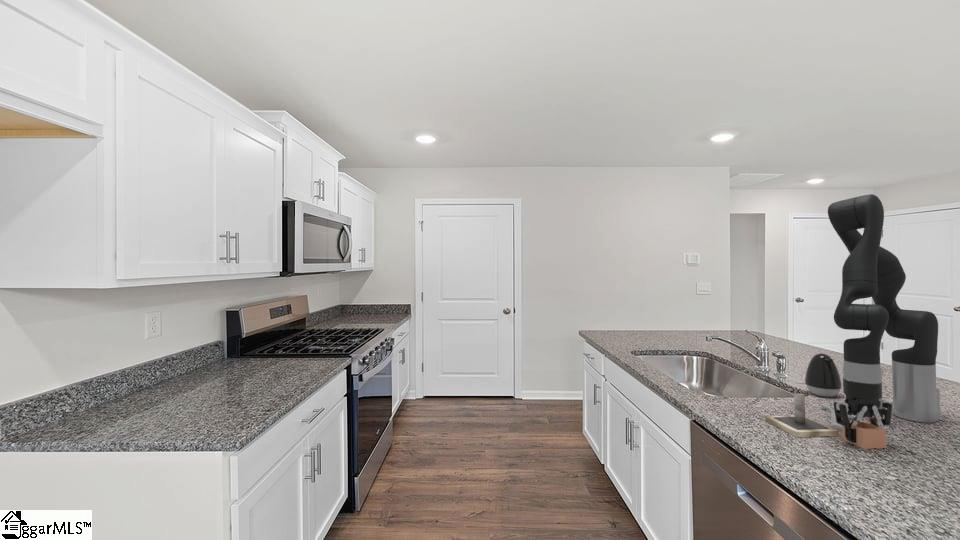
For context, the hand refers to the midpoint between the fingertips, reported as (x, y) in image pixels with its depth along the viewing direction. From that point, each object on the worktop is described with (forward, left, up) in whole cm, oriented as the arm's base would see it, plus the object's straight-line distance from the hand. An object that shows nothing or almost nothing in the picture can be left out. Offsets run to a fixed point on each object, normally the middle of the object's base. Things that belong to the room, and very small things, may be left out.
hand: (863, 440), depth 106 cm
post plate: (+8, -11, -1) cm, 14 cm away
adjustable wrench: (-8, -18, -1) cm, 20 cm away
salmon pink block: (0, 0, -1) cm, 1 cm away
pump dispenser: (-24, -39, -1) cm, 46 cm away
